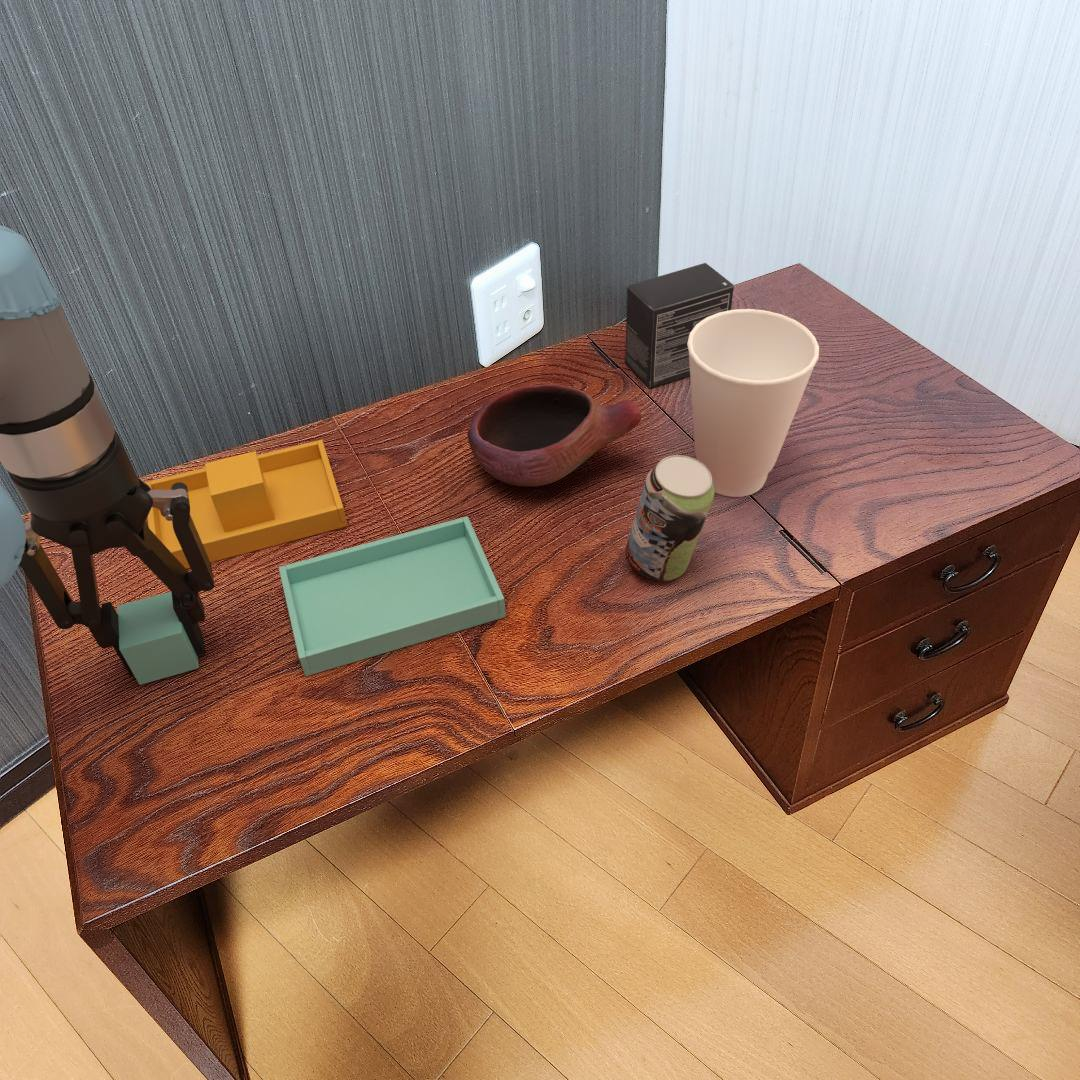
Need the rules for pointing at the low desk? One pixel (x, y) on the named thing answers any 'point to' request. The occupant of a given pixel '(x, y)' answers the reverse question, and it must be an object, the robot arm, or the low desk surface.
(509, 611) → the low desk surface
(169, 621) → the teal block
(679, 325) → the small box
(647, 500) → the beverage can
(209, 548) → the ochre tray
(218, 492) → the ochre block
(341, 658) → the teal tray
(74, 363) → the robot arm
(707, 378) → the cup
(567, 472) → the bowl
